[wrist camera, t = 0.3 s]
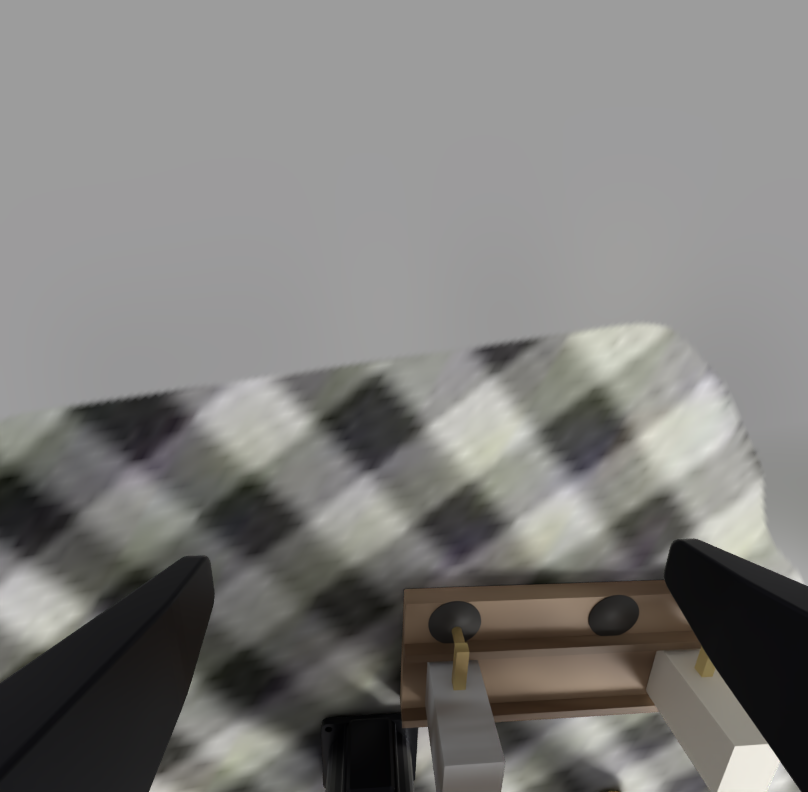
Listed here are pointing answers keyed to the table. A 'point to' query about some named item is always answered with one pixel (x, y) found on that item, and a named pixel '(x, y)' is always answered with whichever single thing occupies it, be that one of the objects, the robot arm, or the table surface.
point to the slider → (710, 722)
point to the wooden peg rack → (526, 663)
